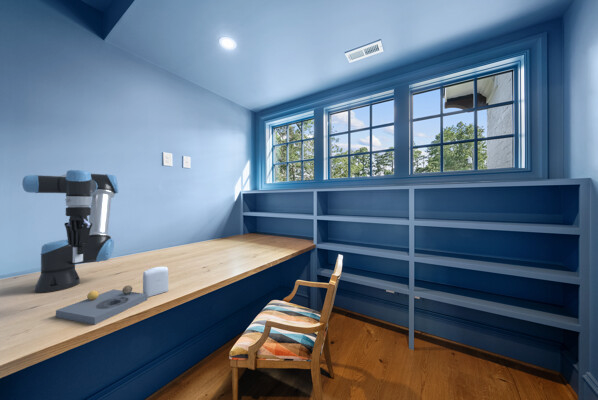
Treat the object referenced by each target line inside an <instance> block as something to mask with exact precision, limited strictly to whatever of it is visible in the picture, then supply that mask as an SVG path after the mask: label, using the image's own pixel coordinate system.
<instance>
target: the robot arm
mask: <svg viewBox="0 0 598 400" xmlns="http://www.w3.org/2000/svg"><path fill="white" fill-rule="evenodd" d="M21 182H22V184H21V185H22V189H23V190H24V191H25V192H26V193H34V194H39V193H40V194H65V199H64V201H65V206H67V207H66V208H65V216H66V217H69V219H68V222H64V227H65V231H66V237H67V239H61V240H57V241H56V240H55V241H52V242H51V241H50V242H47V243H44V244H43V245H42V246H41V250H40V251H41V252H40V276H39V278H38V280H37V282H36V284H35V287H34V292H35V293H42V294H43V293H51V292H52V293H53V292H57V291H62V290H65V289H69V288H72V287H75V286H77V285H79V284H80V283H81V280H80V276H79V274H78V272H77V270H76V265H80V264H81V265H82V264H88V263H90V264H91V263H99V262H105V261H108V260H109V259H111V257H112V254H113V252H114V245H115V240H114V239H113V238H112V237H111V235H110V234H108V233H109V225H110V215H111V213H110V211H111V206H112V205H111V203H112V198H114V197H116V196H115V195H116V194H118V193H119V186H118V179H117V176H116V175H113V174H108V173H106V174H101V173H100V174H99V173H91V172H90V171H88V170H80V169H78V170H77V169H70V170H67V171H66V173H65V174H62V175H38V174H35V175H34V174H33V175H32V174H28V175H24V177H22V181H21ZM88 217H89V218H88Z"/></svg>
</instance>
